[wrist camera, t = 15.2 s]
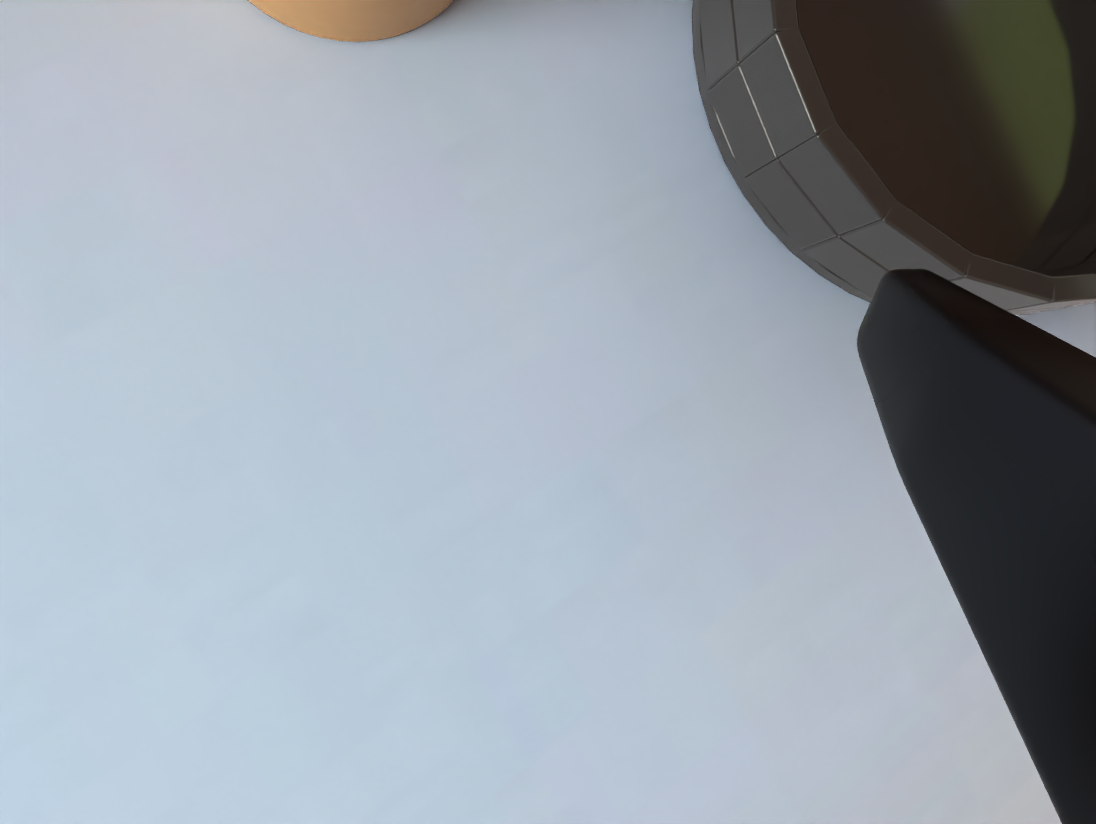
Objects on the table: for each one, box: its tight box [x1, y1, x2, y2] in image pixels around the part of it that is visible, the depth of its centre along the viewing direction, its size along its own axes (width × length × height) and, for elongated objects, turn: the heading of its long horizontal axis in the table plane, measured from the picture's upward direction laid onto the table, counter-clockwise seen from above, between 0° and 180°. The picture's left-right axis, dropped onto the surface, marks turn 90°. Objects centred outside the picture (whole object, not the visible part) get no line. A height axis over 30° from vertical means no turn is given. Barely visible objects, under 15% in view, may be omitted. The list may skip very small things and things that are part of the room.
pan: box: [692, 0, 1096, 315], centre depth 20 cm, size 12×12×4 cm
